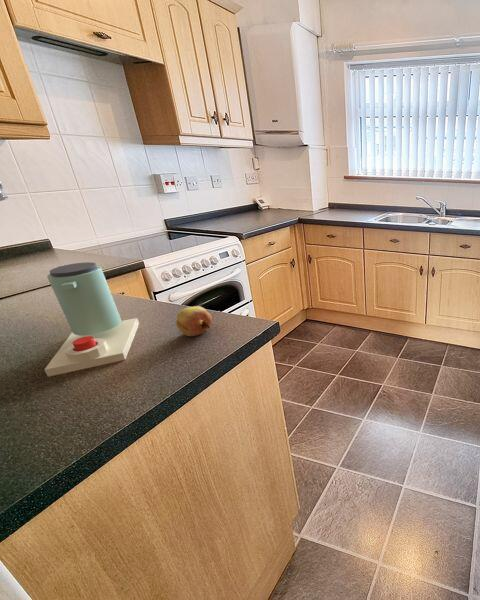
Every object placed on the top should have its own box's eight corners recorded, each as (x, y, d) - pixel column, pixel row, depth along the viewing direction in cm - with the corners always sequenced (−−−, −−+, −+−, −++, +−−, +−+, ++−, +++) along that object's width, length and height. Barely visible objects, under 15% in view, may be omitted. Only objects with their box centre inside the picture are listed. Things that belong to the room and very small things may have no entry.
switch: (94, 349, 67) (91, 341, 66) (73, 353, 66) (69, 345, 65) (98, 342, 70) (95, 334, 69) (78, 346, 68) (75, 338, 68)
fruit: (160, 312, 76) (184, 322, 71) (188, 295, 81) (212, 303, 76) (176, 335, 80) (200, 345, 75) (202, 317, 85) (226, 326, 80)
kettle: (115, 333, 72) (91, 272, 66) (64, 343, 68) (34, 279, 63) (126, 311, 82) (106, 257, 77) (82, 319, 79) (57, 262, 73)
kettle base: (125, 360, 69) (119, 345, 68) (47, 377, 64) (39, 361, 62) (139, 324, 84) (134, 311, 82) (77, 335, 78) (71, 322, 77)
